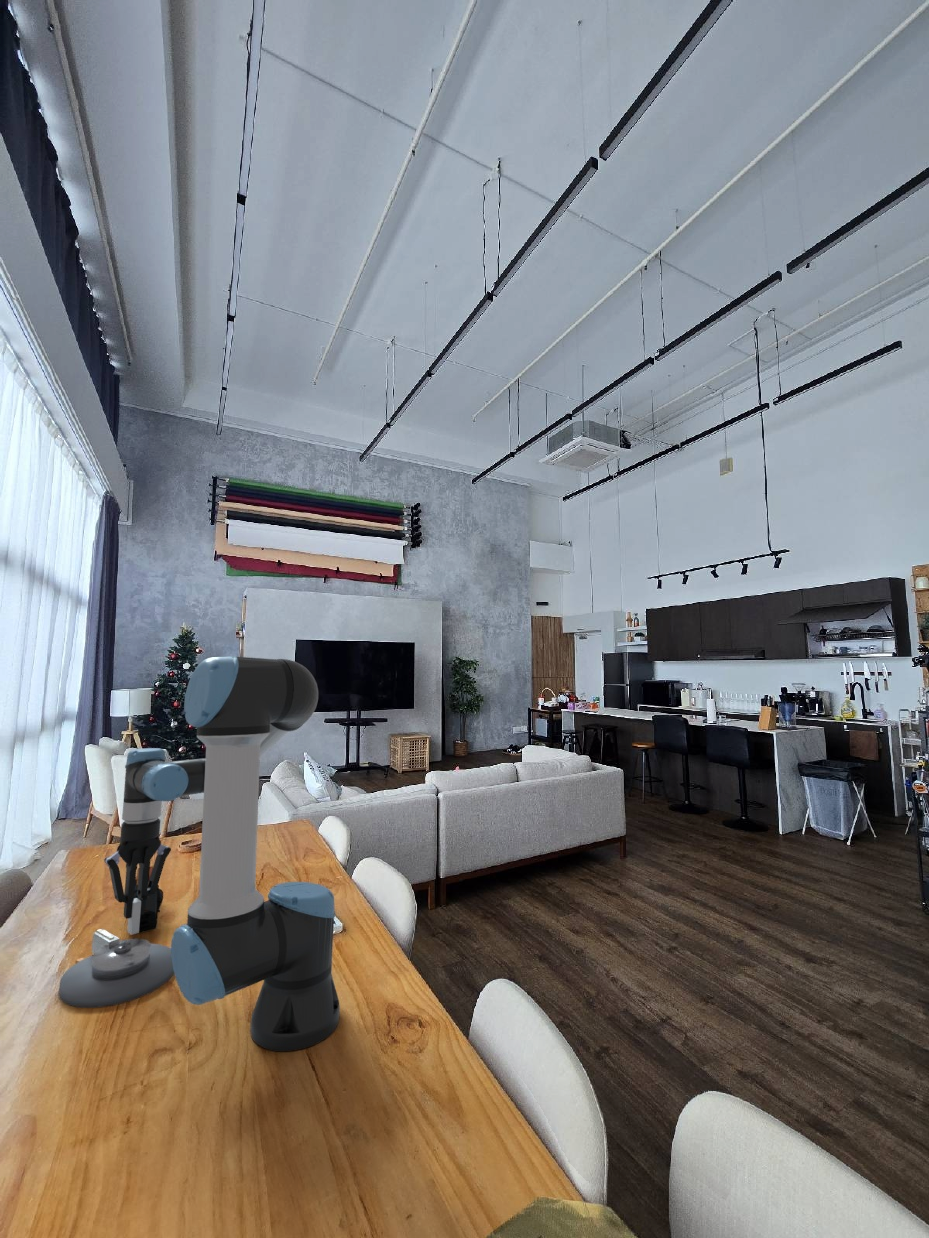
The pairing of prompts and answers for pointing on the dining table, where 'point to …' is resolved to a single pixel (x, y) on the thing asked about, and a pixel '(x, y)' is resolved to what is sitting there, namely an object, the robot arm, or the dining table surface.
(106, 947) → the dial
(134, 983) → the dial plate
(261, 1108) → the dining table surface
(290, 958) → the robot arm
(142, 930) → the tool
